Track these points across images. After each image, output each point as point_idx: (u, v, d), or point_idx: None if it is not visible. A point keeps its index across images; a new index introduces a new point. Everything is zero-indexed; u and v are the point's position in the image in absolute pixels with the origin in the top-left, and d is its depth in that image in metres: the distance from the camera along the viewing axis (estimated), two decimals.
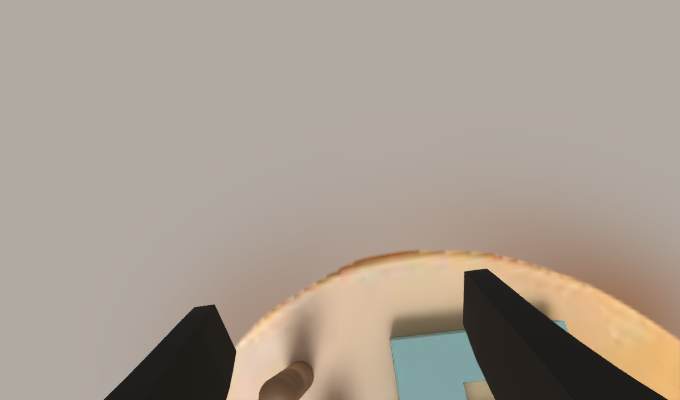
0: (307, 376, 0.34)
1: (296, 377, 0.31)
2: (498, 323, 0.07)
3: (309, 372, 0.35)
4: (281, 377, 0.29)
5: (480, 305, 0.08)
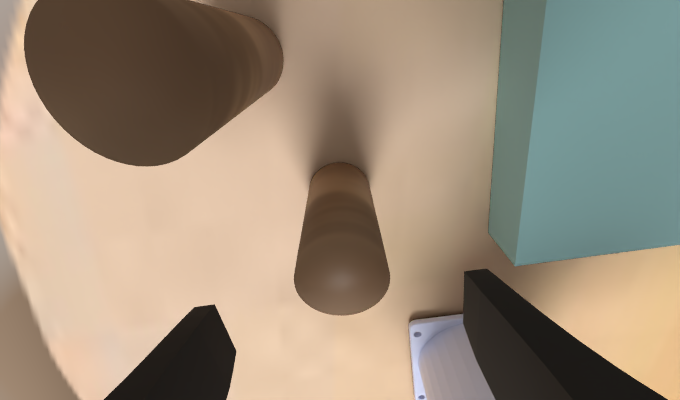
0: (266, 42, 0.11)
1: (217, 17, 0.07)
2: (498, 323, 0.07)
3: (270, 38, 0.12)
4: None
5: (480, 305, 0.08)
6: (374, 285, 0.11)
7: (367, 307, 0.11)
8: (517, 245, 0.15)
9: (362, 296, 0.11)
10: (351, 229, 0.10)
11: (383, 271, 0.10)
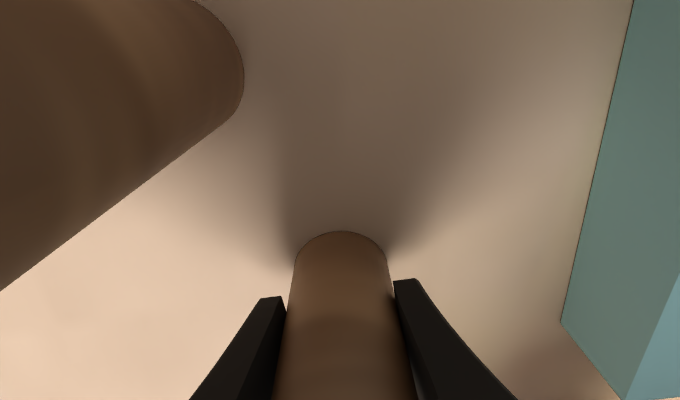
0: (185, 42, 0.05)
1: None
2: (409, 334, 0.07)
3: (208, 33, 0.06)
4: None
5: (401, 315, 0.08)
6: None
7: None
8: (634, 376, 0.09)
9: None
10: None
11: None
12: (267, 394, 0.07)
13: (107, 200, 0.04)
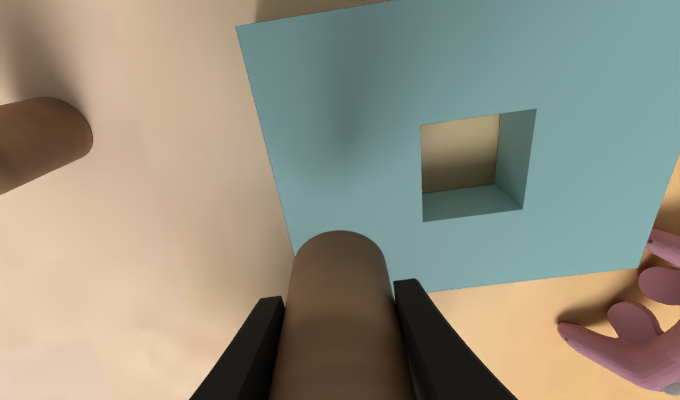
0: (36, 132, 0.13)
1: None
2: (409, 334, 0.07)
3: (58, 121, 0.14)
4: None
5: (400, 315, 0.08)
6: None
7: None
8: None
9: None
10: None
11: None
12: (267, 395, 0.07)
13: None
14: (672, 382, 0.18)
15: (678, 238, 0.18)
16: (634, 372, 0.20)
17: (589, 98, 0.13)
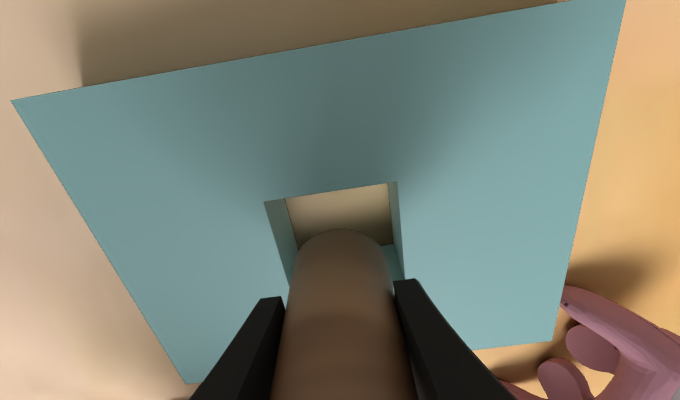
0: None
1: None
2: (409, 334, 0.07)
3: None
4: None
5: (400, 315, 0.08)
6: None
7: None
8: (176, 367, 0.15)
9: None
10: None
11: None
12: (267, 395, 0.07)
13: None
14: None
15: (597, 300, 0.16)
16: None
17: (457, 169, 0.11)
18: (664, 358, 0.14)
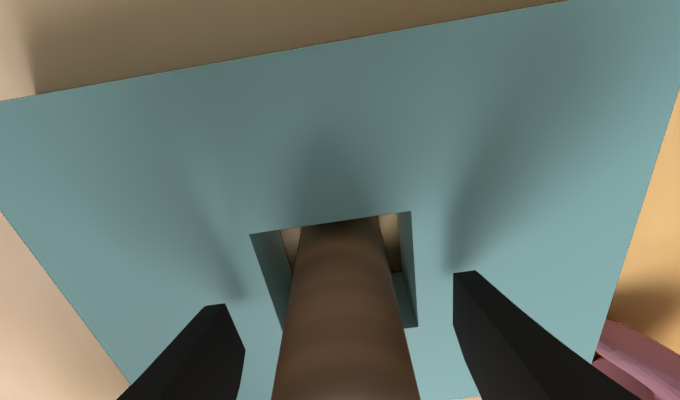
0: None
1: None
2: (484, 325, 0.07)
3: None
4: None
5: (467, 307, 0.08)
6: None
7: None
8: None
9: None
10: (361, 333, 0.07)
11: None
12: None
13: None
14: None
15: (628, 336, 0.14)
16: None
17: (484, 197, 0.09)
18: None
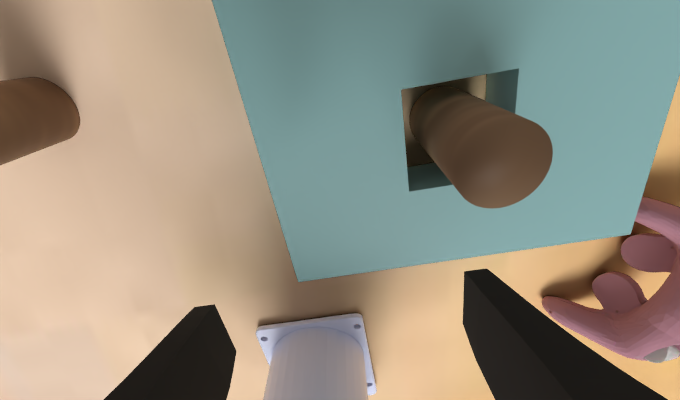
0: (20, 108, 0.13)
1: None
2: (498, 323, 0.07)
3: (42, 99, 0.14)
4: None
5: (480, 305, 0.08)
6: (533, 172, 0.11)
7: (519, 199, 0.11)
8: (293, 264, 0.17)
9: (518, 185, 0.11)
10: (513, 114, 0.10)
11: (546, 155, 0.10)
12: None
13: None
14: (655, 350, 0.18)
15: (656, 202, 0.18)
16: (617, 341, 0.19)
17: (572, 56, 0.13)
18: None
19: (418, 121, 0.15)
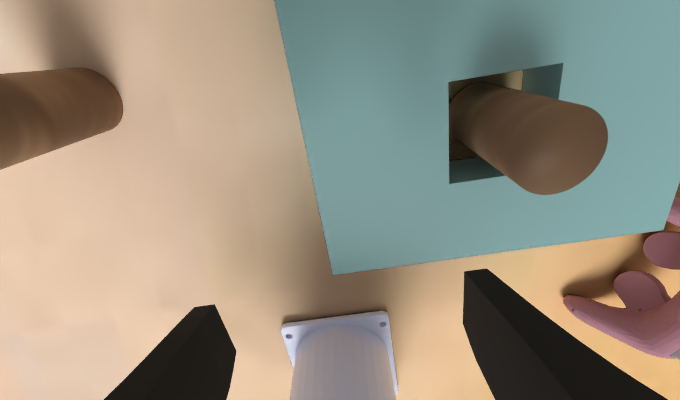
0: (74, 95, 0.14)
1: None
2: (498, 323, 0.07)
3: (92, 88, 0.15)
4: None
5: (480, 305, 0.08)
6: (587, 159, 0.11)
7: (572, 186, 0.11)
8: (329, 257, 0.17)
9: (571, 172, 0.11)
10: (569, 102, 0.11)
11: (602, 142, 0.11)
12: None
13: (36, 148, 0.12)
14: None
15: None
16: (643, 339, 0.19)
17: (615, 51, 0.13)
18: None
19: (458, 115, 0.15)
